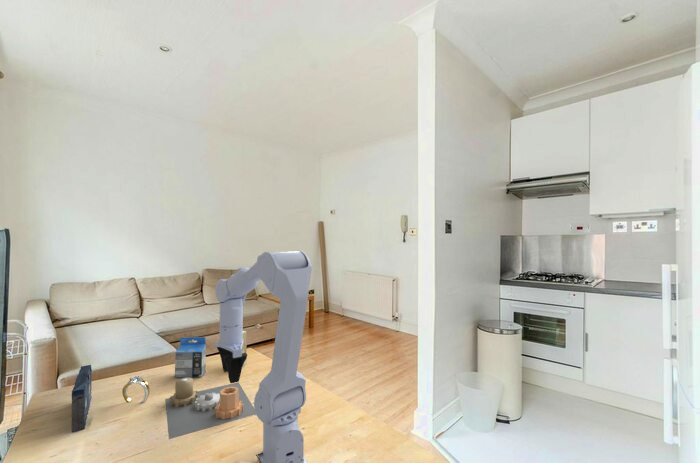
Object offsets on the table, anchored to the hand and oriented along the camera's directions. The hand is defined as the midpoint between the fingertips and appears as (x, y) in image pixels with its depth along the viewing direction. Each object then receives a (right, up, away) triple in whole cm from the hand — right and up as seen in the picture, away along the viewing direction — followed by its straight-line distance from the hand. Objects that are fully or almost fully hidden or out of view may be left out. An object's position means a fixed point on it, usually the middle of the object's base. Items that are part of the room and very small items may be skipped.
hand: (231, 376), depth 86 cm
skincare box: (-9, -11, +32) cm, 35 cm away
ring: (-28, -11, +5) cm, 30 cm away
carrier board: (-7, -10, +4) cm, 13 cm away
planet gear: (0, -9, 0) cm, 9 cm away
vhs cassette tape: (-40, -11, +1) cm, 41 cm away
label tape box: (-23, -11, +25) cm, 35 cm away
